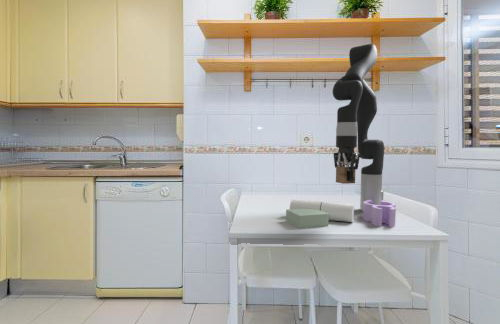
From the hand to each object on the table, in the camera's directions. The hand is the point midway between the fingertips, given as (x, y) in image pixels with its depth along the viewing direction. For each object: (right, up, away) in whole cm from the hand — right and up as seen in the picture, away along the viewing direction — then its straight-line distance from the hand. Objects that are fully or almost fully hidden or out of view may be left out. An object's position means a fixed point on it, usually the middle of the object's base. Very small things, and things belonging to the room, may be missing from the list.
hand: (345, 180), depth 120 cm
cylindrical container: (-18, -13, +17) cm, 28 cm away
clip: (+17, -17, +10) cm, 26 cm away
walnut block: (0, -1, 0) cm, 1 cm away
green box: (-14, -17, +5) cm, 23 cm away
